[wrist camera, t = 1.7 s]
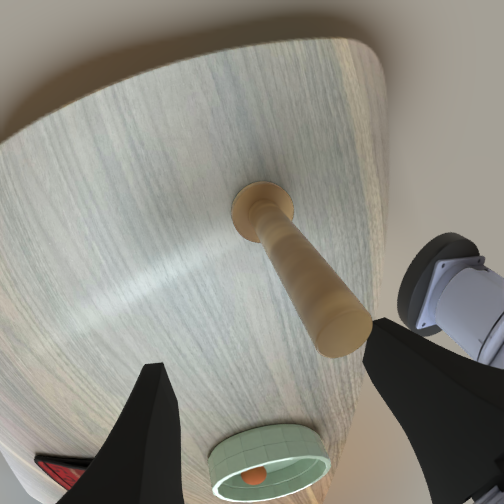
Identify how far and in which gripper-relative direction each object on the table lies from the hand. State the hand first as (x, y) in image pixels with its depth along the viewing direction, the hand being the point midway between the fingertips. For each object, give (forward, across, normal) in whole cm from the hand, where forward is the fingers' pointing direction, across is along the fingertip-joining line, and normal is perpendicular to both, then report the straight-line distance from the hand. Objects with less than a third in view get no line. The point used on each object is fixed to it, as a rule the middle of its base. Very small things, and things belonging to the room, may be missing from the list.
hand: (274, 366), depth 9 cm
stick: (+10, -2, -2) cm, 10 cm away
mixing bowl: (+10, -1, +26) cm, 28 cm away
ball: (+8, +1, +27) cm, 28 cm away
